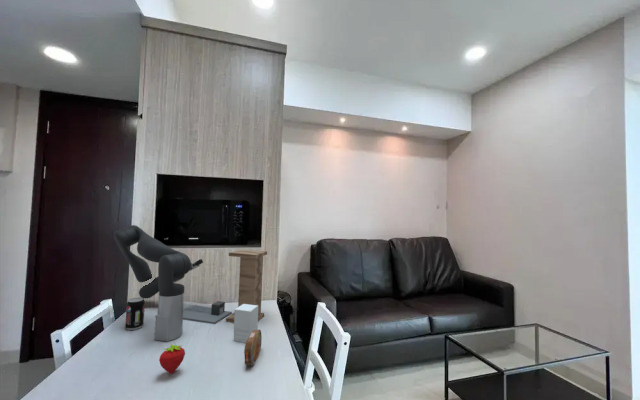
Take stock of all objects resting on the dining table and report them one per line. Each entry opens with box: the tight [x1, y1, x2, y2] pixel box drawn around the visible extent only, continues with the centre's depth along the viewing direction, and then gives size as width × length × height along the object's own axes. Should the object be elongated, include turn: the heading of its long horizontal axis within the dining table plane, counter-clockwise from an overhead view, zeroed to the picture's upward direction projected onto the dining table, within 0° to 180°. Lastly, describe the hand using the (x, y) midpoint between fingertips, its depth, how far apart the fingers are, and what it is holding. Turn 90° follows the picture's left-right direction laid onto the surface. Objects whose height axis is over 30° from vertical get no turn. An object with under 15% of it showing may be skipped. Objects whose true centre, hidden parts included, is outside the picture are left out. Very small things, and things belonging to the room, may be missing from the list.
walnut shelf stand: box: [225, 249, 268, 324], centre depth 134 cm, size 12×14×32 cm
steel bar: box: [183, 300, 226, 316], centre depth 140 cm, size 5×23×5 cm, turn 74°
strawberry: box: [158, 340, 186, 375], centre depth 88 cm, size 6×8×10 cm
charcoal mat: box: [183, 309, 233, 325], centre depth 136 cm, size 14×24×1 cm, turn 76°
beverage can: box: [124, 297, 146, 331], centre depth 120 cm, size 7×7×12 cm
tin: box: [243, 329, 263, 366], centre depth 99 cm, size 15×3×8 cm, turn 179°
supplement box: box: [233, 304, 259, 343], centre depth 114 cm, size 7×7×13 cm
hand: (196, 262), depth 141 cm, fingers open, 8 cm apart
